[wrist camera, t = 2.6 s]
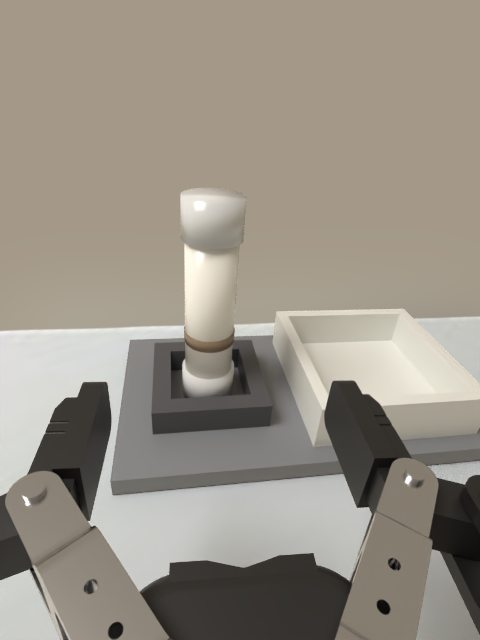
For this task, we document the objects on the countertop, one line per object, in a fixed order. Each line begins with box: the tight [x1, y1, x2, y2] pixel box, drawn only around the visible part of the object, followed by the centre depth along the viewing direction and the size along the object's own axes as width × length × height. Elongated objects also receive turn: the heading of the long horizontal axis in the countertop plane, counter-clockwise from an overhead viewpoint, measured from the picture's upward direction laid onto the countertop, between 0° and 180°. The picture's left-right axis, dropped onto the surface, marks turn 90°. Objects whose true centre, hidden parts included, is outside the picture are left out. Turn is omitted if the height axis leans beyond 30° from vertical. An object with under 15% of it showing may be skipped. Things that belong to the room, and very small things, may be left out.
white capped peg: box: [180, 188, 246, 398], centre depth 25 cm, size 4×4×14 cm
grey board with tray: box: [110, 309, 480, 495], centre depth 30 cm, size 26×14×4 cm, turn 99°
